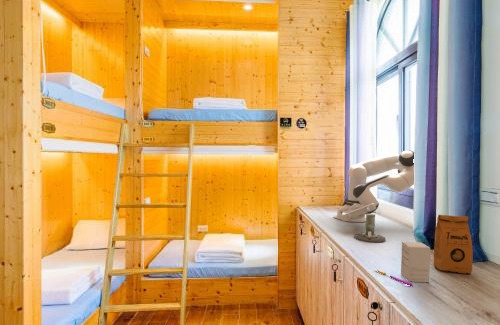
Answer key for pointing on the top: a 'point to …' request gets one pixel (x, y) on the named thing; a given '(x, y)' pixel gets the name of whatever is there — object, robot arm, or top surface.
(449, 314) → the top surface
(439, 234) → the coffee package
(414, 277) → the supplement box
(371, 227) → the green cylinder with base
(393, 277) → the purple screwdriver
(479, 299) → the top surface
